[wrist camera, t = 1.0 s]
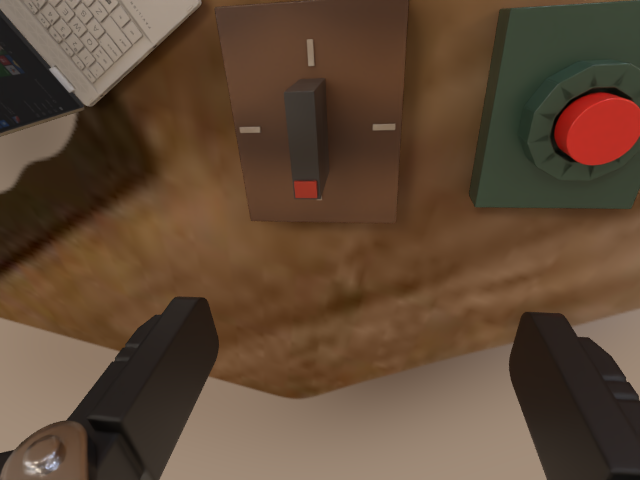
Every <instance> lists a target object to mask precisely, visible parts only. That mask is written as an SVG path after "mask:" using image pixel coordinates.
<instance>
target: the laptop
mask: <svg viewBox="0 0 640 480" xmlns="http://www.w3.org/2000/svg"><path fill="white" fill-rule="evenodd" d="M200 6H201V0H0V137H1V136H4V135H7V134H10V133H13V132H16V131H19V130H23V129H25V128H29V127H32V126H35V125H38V124H41V123H44V122H48V121H51V120H54V119H57V118H60V117H63V116H67V115H70V114H73V113H76V112H79V111H82V110H84V105H83V103H84V104H85V105H86V106H93V105H95V104H96V103H97V102H98V101H99V100H100V99H101V98H102V97H103V96H104V95H106V94H107V93H108V92H109V91H110V90H111V89H112V88H113V87H114V86H115V85H116V84H117V83H119V82H120V81H121V80H122V79H123V78H124V77H125V76H126V75H127V74H128V73H129V72H130V71H131V70H133V69H134V68H135V67H136V66H137V65H138V64H139V63H140V62H141V61H142V60H143V59H144V58H145V57H147V56H148V55H149V54H150V53H151V52H152V51H153V50H154V49H155V48H156V47H157V46H158V45H159V44H160V43H161V42H163V41H164V40H165V39H166V38H167V37H168V36H169V35H170V34H171V33H172V32H173V31H174V30H175V29H176V28H177V27H178V26H180V25H181V24H182V23H183V22H184V21H185V20H186V19H187V18H188V17H189V16H190V15H191V14H192V13H193V12H194V11H196V10H197V9H198V8H199V7H200ZM1 10H2V11H3V12H4V13H5V14H6V15H7V16H6V15H5V14H4V13H3V12H2V11H1ZM9 19H10V20H11V21H12V22H13V23H14V24H13V23H12V22H11V21H10V20H9ZM15 26H16V27H17V28H18V29H19V30H20V31H21V32H20V31H19V30H18V29H17V28H16V27H15ZM22 34H23V35H24V36H25V37H26V38H27V39H28V40H29V41H28V40H27V39H26V38H25V37H24V36H23V35H22ZM29 42H30V43H31V44H32V45H33V46H34V47H35V48H34V47H33V46H32V45H31V44H30V43H29ZM36 50H37V51H38V52H39V53H40V54H41V55H40V54H39V53H38V52H37V51H36ZM42 57H43V58H44V59H45V60H46V61H47V62H48V63H47V62H46V61H45V60H44V59H43V58H42ZM50 66H51V67H52V68H51V67H50ZM73 92H74V93H75V94H76V95H75V94H74V93H73ZM77 97H78V98H79V99H80V100H81V101H82V102H83V103H82V102H81V101H80V100H79V99H78V98H77Z"/></svg>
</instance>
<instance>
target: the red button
mask: <svg viewBox="0 0 640 480" xmlns="http://www.w3.org/2000/svg"><path fill="white" fill-rule="evenodd" d="M554 136H555V141H556V144H557V146H558V147H559V148H560V149H561V150H562V151H563V152H564V153H566V154H567V155H569V156H570V157H571V158H573V159H574V160H575V161H577V162H579V163H581V164H585V165H601V164H605V163H608V162H611V161H613V160H615V159H617V158H619V157H621V156H622V155H624V154H625V153H626V152H627V151H628V150H630V149H631V148H632V146H633V145H634V144H635V143H636V141H637V140H638V138H639V136H640V108H639V107H638V106H637V105H636V104H635V103H634V102H632V101H630V100H628V99H625V98H622V97H619V96H616V95H613V94H610V93H605V92H598V93H591V94H588V95H585V96H583V97H581V98H579V99H577V100H575V101H574V102H573V103H571V104H570V105H569V106H568V107H567V108H566V109H565V110H564V111H563V112H562V114H561V115H560V117H559V118H558V121H557V123H556V126H555V131H554Z"/></svg>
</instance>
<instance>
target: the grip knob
mask: <svg viewBox="0 0 640 480" xmlns="http://www.w3.org/2000/svg"><path fill="white" fill-rule="evenodd" d="M284 102H285V112H286V122H287V132H288V142H289V152H290V162H291V172H292V182H293V192H294V199H321V196H322V193H323V190H324V187H325V184H326V181H327V178H328V174H329V151H328V129H327V106H326V83H325V78H315V79H299V80H298V81H297V82H296V83H295V84H293V85H292V86H291V87H290V88H288V89H287V90H286V91H285V92H284Z"/></svg>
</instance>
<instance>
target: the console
mask: <svg viewBox="0 0 640 480" xmlns="http://www.w3.org/2000/svg"><path fill="white" fill-rule="evenodd" d="M408 8H409V0H305V1H291V2H277V3H264V4H250V5H236V6H222V7H215V14H216V20H217V26H218V32H219V37H220V43H221V49H222V55H223V61H224V66H225V72H226V78H227V84H228V90H229V96H230V101H231V107H232V113H233V119H234V125H235V130H236V136H237V142H238V148H239V154H240V160H241V165H242V171H243V177H244V183H245V189H246V194H247V200H248V206H249V212H250V218H251V221H285V222H343V223H396V212H397V195H398V178H399V161H400V144H401V127H402V110H403V93H404V76H405V59H406V42H407V25H408ZM315 78H325V83H326V106H327V129H328V151H329V174H328V178H327V181H326V184H325V187H324V190H323V193H322V196H321V199H294V192H293V182H292V172H291V162H290V152H289V142H288V132H287V122H286V112H285V102H284V92H285V91H286V90H287V89H288V88H290V87H291V86H292V85H293V84H295V83H296V82H297V81H298V80H299V79H315Z"/></svg>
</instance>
